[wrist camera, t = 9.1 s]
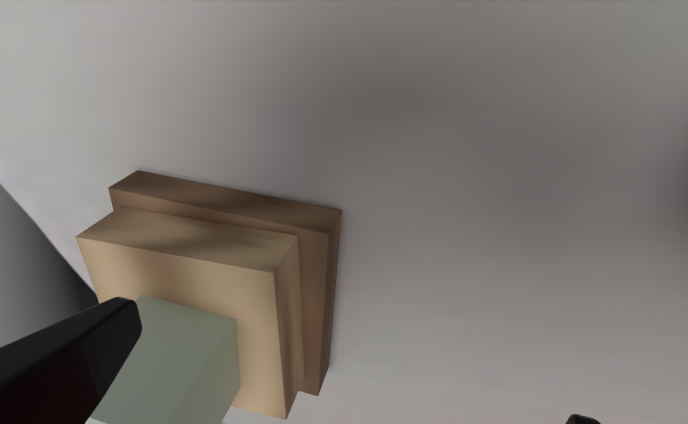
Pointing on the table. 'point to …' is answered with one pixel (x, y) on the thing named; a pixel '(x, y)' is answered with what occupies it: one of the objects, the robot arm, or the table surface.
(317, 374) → the walnut slab
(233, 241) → the oak slab
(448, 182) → the table surface
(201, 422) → the sage block
